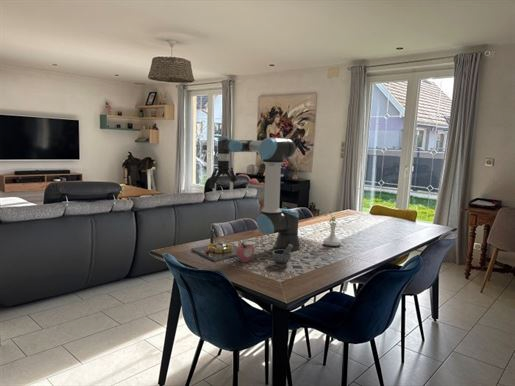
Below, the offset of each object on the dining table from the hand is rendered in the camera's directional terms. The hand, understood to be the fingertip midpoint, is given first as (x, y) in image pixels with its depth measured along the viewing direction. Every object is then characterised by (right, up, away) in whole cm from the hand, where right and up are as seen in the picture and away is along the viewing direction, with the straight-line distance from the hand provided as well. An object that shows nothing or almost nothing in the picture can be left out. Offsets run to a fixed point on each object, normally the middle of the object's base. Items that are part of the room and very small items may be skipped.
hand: (223, 192), depth 255 cm
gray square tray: (+2, -34, -37) cm, 50 cm away
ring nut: (+1, -32, -36) cm, 48 cm away
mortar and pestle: (+36, -38, -57) cm, 77 cm away
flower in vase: (+68, -33, -17) cm, 78 cm away
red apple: (+16, -37, -53) cm, 66 cm away
